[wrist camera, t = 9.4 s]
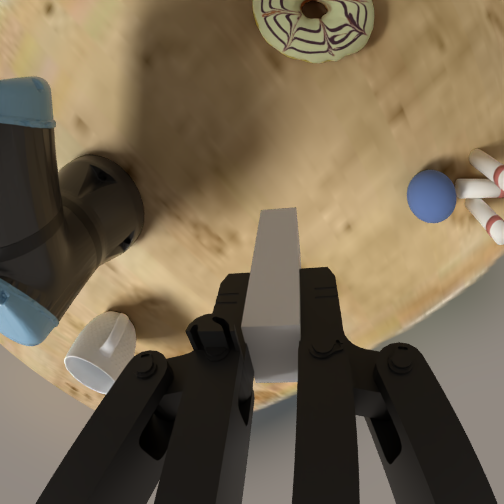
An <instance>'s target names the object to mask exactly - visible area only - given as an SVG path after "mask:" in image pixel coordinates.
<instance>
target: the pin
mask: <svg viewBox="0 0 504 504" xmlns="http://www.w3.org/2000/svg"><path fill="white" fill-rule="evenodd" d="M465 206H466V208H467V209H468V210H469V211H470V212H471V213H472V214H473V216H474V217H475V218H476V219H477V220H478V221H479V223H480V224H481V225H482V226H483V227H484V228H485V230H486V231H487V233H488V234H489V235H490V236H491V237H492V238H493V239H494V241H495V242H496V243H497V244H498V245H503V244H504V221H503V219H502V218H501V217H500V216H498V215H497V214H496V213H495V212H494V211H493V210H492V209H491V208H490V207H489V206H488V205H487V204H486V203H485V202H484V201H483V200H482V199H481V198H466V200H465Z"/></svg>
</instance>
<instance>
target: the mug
mask: <svg viewBox="0 0 504 504" xmlns="http://www.w3.org/2000/svg"><path fill="white" fill-rule="evenodd" d="M135 347H136V332H135V328H134V326H133V324H132V322H131V321H130V320H129V318H128V316H127V315H125V314H123V313H118V312H113V311H109V312H105V313H102V314H100V315H98V316H97V317H95V318H94V319H93V320H92V321H90V322H89V323H88V324H87V325H86V326H85V328H84V329H83V330H82V331H81V332H80V334H79V335H78V337H77V338H76V339H75V341H74V343H73V344H72V346H71V348H70V350H69V352H68V353H67V355H66V357H65V359H64V363H65V366H66V368H67V370H68V371H69V372H70V373H71V375H72V376H73V377H75V378H76V379H77V380H78V381H79V382H81V383H82V384H84V385H85V386H87V387H89V388H90V389H92V390H94V391H97V392H99V393H102V394H107V393H108V391H109V390H110V388H111V387H112V385H113V384H114V382H115V381H116V380H117V378H118V377H119V375H120V374H121V372H122V371H123V369H124V368H125V367H126V365H127V364H128V362H129V361H130V360H131V359H132V358H133V357H134V353H135Z"/></svg>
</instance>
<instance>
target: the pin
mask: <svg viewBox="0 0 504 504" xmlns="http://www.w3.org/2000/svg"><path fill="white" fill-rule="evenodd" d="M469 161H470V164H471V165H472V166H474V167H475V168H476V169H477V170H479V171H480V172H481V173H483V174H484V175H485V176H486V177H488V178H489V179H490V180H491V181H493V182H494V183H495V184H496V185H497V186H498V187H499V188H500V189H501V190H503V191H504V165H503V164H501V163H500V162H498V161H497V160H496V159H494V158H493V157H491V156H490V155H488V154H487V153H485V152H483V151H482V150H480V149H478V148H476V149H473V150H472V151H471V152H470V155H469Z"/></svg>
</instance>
